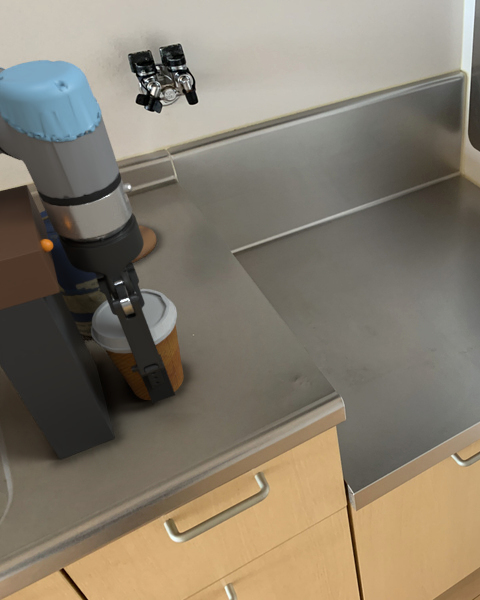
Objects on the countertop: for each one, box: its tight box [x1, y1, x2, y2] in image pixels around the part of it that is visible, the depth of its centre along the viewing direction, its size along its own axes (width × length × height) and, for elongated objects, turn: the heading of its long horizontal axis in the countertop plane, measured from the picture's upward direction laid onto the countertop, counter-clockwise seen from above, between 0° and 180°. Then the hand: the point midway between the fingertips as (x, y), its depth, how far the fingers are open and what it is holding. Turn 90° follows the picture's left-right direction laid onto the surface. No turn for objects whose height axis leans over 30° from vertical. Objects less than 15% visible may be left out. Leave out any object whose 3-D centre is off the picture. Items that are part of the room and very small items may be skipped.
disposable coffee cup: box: [91, 288, 184, 401], centre depth 74 cm, size 10×10×12 cm
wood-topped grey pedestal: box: [0, 184, 116, 460], centre depth 67 cm, size 8×13×27 cm, turn 29°
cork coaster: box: [132, 224, 158, 264], centre depth 100 cm, size 11×11×1 cm
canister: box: [40, 210, 112, 337], centre depth 81 cm, size 10×10×18 cm
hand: (154, 371), depth 77 cm, fingers open, 9 cm apart
